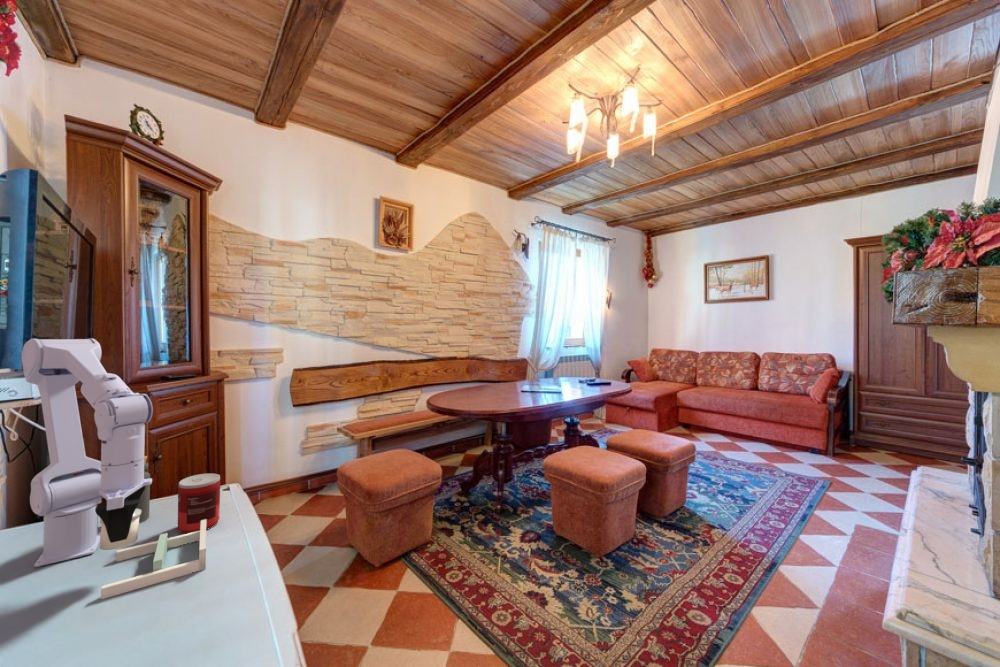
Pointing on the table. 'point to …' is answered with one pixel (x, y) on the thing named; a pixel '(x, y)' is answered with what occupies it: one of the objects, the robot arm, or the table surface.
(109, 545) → the jar
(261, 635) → the table surface
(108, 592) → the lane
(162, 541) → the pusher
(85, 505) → the robot arm
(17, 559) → the table surface
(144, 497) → the bottle
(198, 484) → the canned food
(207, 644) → the table surface
